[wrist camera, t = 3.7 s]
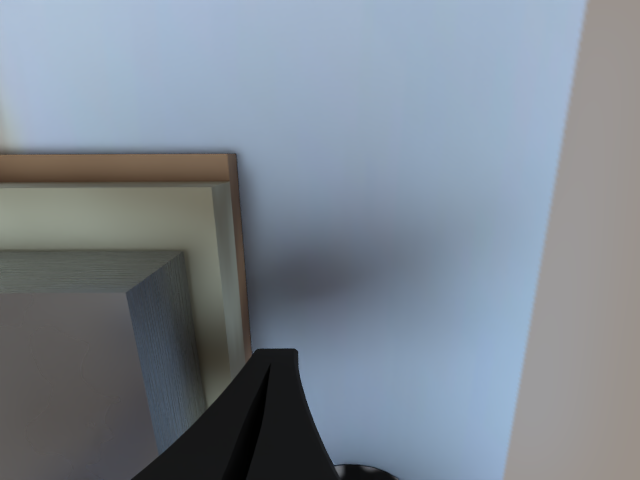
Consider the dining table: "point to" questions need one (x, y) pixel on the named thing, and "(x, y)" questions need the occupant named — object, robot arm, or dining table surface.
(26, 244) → the tan piece
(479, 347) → the dining table surface
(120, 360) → the metal block
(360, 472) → the white-spotted black cylinder
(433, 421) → the dining table surface
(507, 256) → the dining table surface
